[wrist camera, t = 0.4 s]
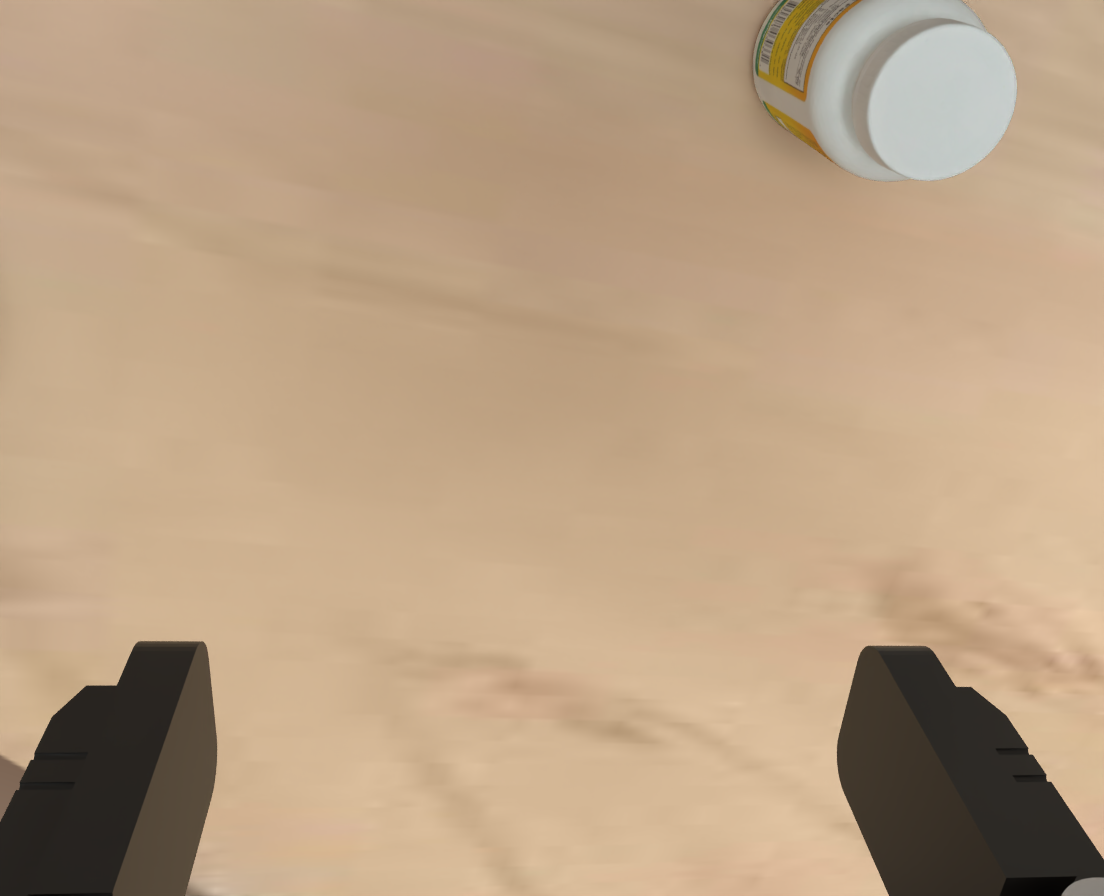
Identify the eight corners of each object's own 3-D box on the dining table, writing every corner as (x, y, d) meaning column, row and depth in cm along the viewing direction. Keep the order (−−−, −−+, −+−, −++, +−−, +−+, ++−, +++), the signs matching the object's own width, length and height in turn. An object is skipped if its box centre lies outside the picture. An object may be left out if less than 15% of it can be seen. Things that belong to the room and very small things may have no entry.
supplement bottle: (733, 2, 35) (824, 31, 26) (891, -52, 34) (1034, -41, 26) (767, 159, 37) (860, 232, 29) (915, 110, 37) (1052, 169, 28)
